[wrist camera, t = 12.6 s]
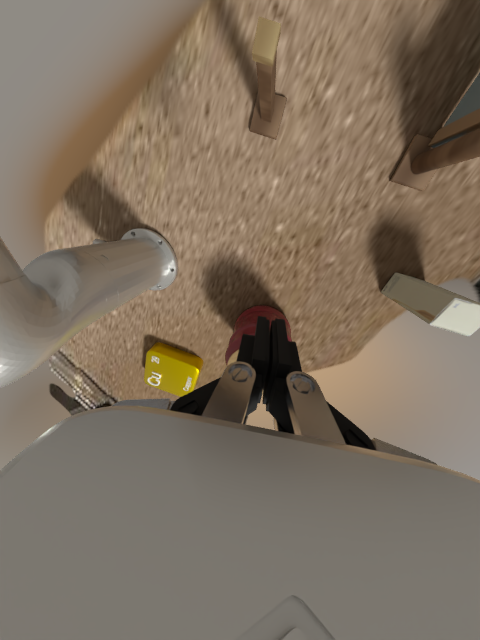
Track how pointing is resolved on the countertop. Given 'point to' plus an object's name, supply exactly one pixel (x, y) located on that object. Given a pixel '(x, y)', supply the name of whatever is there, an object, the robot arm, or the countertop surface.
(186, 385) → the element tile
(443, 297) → the skincare box
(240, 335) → the canister
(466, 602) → the robot arm
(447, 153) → the gate frame
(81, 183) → the countertop surface
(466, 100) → the panel
